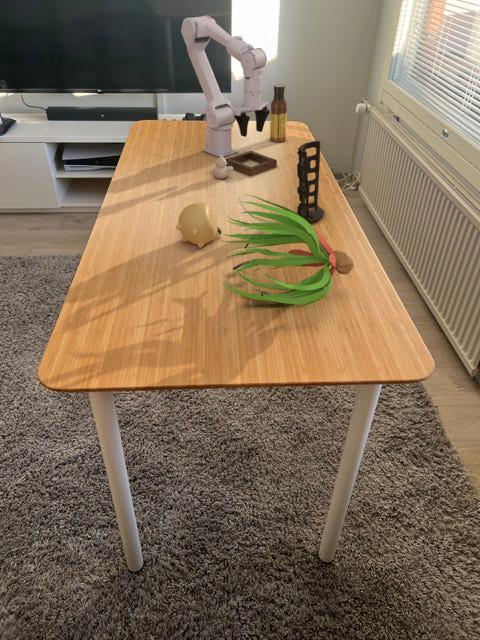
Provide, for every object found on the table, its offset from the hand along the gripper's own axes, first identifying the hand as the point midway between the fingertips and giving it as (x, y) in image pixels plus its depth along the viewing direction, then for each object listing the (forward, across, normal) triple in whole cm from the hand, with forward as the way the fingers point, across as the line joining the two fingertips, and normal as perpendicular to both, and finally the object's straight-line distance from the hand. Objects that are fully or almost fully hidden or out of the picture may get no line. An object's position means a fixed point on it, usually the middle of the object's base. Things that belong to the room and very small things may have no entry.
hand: (251, 133), depth 175 cm
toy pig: (+10, -51, -32) cm, 61 cm away
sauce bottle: (+10, +25, +10) cm, 29 cm away
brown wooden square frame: (+10, -3, -3) cm, 11 cm away
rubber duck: (+10, -17, -4) cm, 20 cm away
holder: (+10, -18, -41) cm, 46 cm away
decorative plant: (+10, -54, -63) cm, 84 cm away
